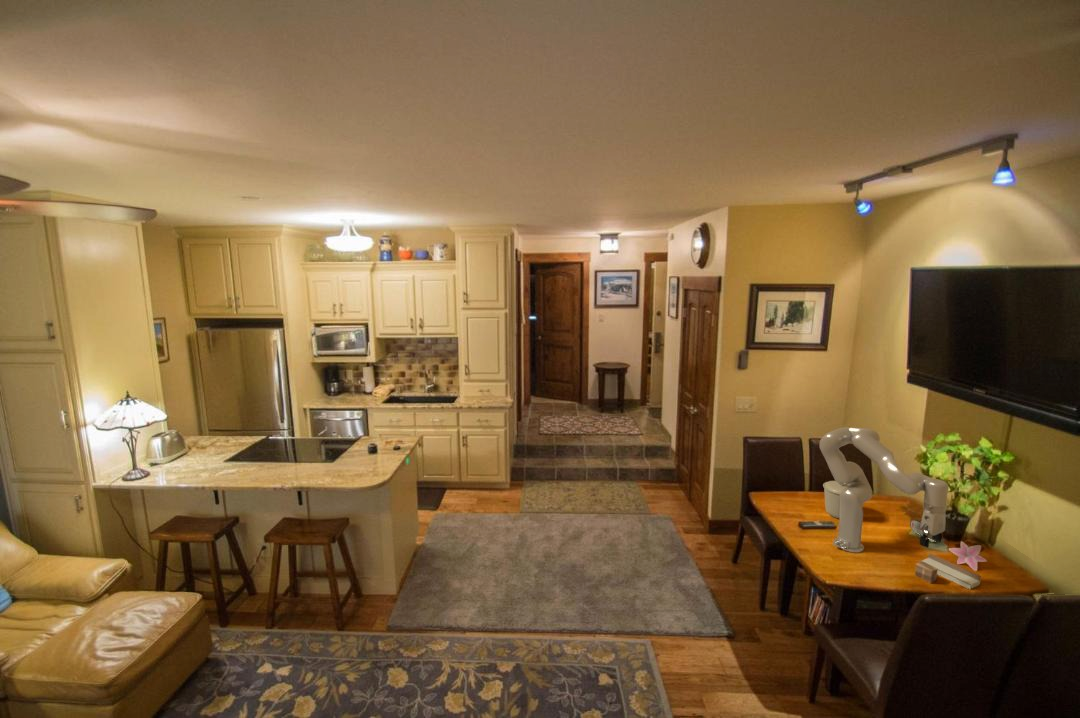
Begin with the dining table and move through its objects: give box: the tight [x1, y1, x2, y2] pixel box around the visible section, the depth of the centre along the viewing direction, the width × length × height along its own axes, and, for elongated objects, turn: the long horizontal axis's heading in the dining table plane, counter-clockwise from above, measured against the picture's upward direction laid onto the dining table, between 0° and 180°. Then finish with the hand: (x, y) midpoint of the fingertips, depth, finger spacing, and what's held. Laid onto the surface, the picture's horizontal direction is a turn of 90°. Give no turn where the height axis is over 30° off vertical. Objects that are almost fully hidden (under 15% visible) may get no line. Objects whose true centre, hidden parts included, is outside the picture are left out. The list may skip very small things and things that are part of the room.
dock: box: [919, 553, 982, 590], centre depth 207 cm, size 8×19×4 cm, turn 23°
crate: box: [914, 560, 938, 584], centre depth 205 cm, size 5×6×6 cm
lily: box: [948, 540, 988, 572], centre depth 215 cm, size 12×12×10 cm
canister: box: [822, 480, 849, 520], centre depth 260 cm, size 18×18×21 cm
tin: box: [909, 517, 944, 543], centre depth 237 cm, size 15×3×8 cm, turn 12°
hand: (930, 543), depth 203 cm, fingers open, 9 cm apart
